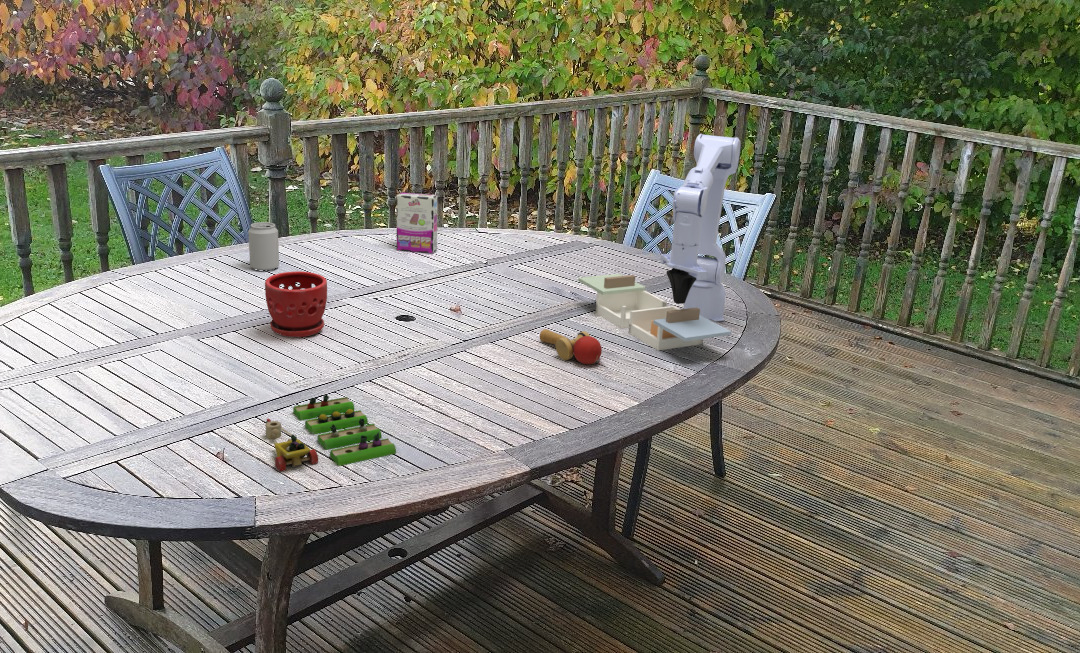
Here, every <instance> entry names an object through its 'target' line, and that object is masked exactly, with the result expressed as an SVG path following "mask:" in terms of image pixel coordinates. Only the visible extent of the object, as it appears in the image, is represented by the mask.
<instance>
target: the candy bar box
mask: <svg viewBox="0 0 1080 653" xmlns="http://www.w3.org/2000/svg"><path fill="white" fill-rule="evenodd" d="M395 197H396V198H395V200H396V202H395V205H396V207H395V208H396V211H395V212H396V215H395V216H396V251H398V250H400V252H409V251H410V252H411V253H421V254H422V253H423V254H434V253H435V252H437V250H438V198H439V197H438V195H437V194H428V193H427V194H426V193H411V192H400V193H399V194H397V195H396V196H395ZM410 252H409V253H410Z"/></svg>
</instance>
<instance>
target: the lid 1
mask: <svg viewBox="0 0 1080 653" xmlns="http://www.w3.org/2000/svg"><path fill="white" fill-rule="evenodd" d="M577 281H578V282H579V283H581V284H582V285H585V286H586V287H587V288H590V289H592V290H594V291H595V292H596V293H597V292H599V293H600V294H602V295H607V294H616V293H625V292H634V291H643V290H645V291H646V286H645V285H642V284H641V283H638V282H637V281H636V276H635V275H634V274H631V275H630V274H629V275H624V274H623V275H622V274H621V273H614V274H613V273H612V274H604V275H603V274H602V275H594V276H593V275H592V276H583V277H578V278H577Z"/></svg>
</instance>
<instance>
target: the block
mask: <svg viewBox="0 0 1080 653" xmlns="http://www.w3.org/2000/svg"><path fill="white" fill-rule="evenodd" d="M658 327H659V326H657V325H655V324H653V320H652V321H651V332H650V334H652V335H654V336H655V337H657V332H658ZM672 337H676V336H675V335H673V334H671V333H669V332H668V331H666V330H664V329H663V334H662V339H664V338H672Z"/></svg>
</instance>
